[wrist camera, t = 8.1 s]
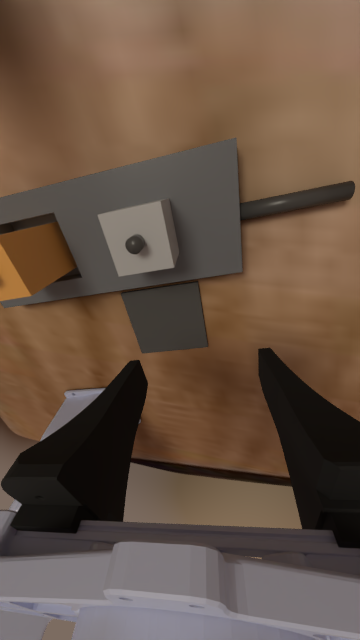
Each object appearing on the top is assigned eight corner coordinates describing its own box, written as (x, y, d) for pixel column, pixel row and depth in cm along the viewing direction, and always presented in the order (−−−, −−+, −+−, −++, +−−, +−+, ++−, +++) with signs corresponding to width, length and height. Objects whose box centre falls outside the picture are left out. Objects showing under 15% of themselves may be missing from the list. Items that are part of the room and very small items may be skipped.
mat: (142, 351, 27) (142, 353, 26) (121, 292, 23) (120, 293, 22) (207, 345, 25) (207, 347, 25) (197, 281, 21) (197, 282, 21)
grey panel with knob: (18, 299, 24) (-42, 336, 18) (-38, 210, 20) (-142, 220, 14) (333, 249, 19) (395, 278, 13) (356, 111, 14) (468, 57, 8)
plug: (43, 271, 22) (-29, 310, 15) (21, 229, 20) (-74, 252, 13) (79, 265, 21) (21, 302, 14) (60, 220, 19) (-19, 239, 12)
